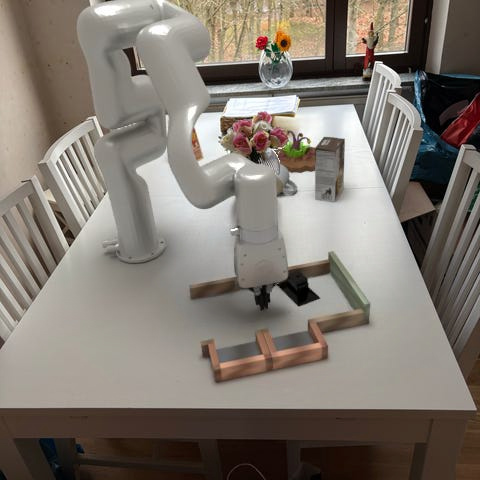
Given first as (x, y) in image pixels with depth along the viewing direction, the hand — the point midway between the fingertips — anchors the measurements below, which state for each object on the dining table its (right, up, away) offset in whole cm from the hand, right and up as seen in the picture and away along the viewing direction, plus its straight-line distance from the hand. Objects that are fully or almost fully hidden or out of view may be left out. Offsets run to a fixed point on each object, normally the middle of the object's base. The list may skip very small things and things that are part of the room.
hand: (262, 305), depth 102 cm
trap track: (+3, -2, -2) cm, 4 cm away
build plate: (+8, +2, +6) cm, 10 cm away
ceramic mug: (+7, +28, +48) cm, 57 cm away
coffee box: (+22, +27, +44) cm, 56 cm away
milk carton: (-24, +42, +75) cm, 89 cm away
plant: (+14, +40, +68) cm, 80 cm away
